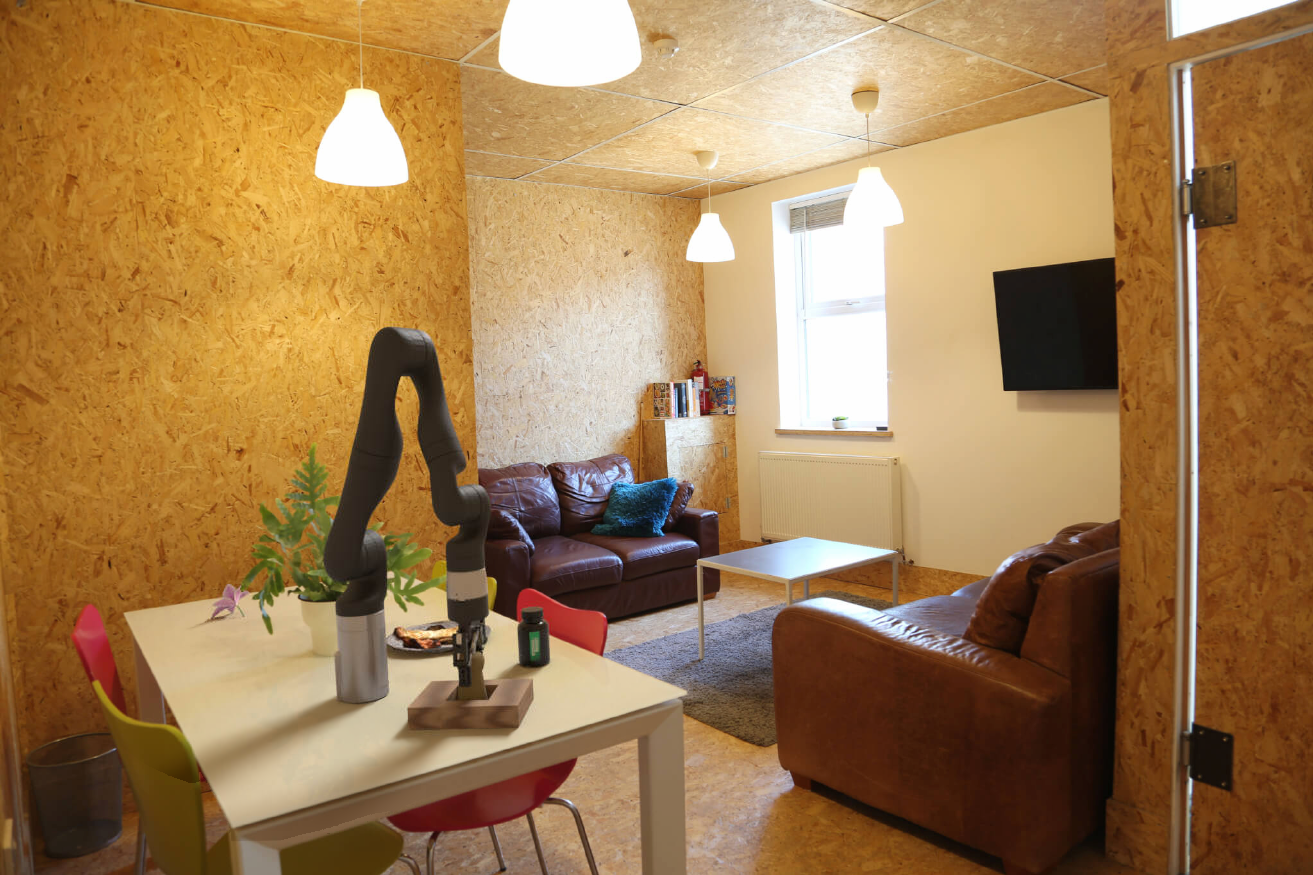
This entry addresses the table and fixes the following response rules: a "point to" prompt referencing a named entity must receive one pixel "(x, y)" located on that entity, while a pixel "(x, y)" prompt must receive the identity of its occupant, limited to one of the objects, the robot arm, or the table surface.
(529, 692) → the holder block
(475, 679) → the cork
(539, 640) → the supplement bottle
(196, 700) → the table surface
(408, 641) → the food plate
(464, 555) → the robot arm
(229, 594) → the lily
